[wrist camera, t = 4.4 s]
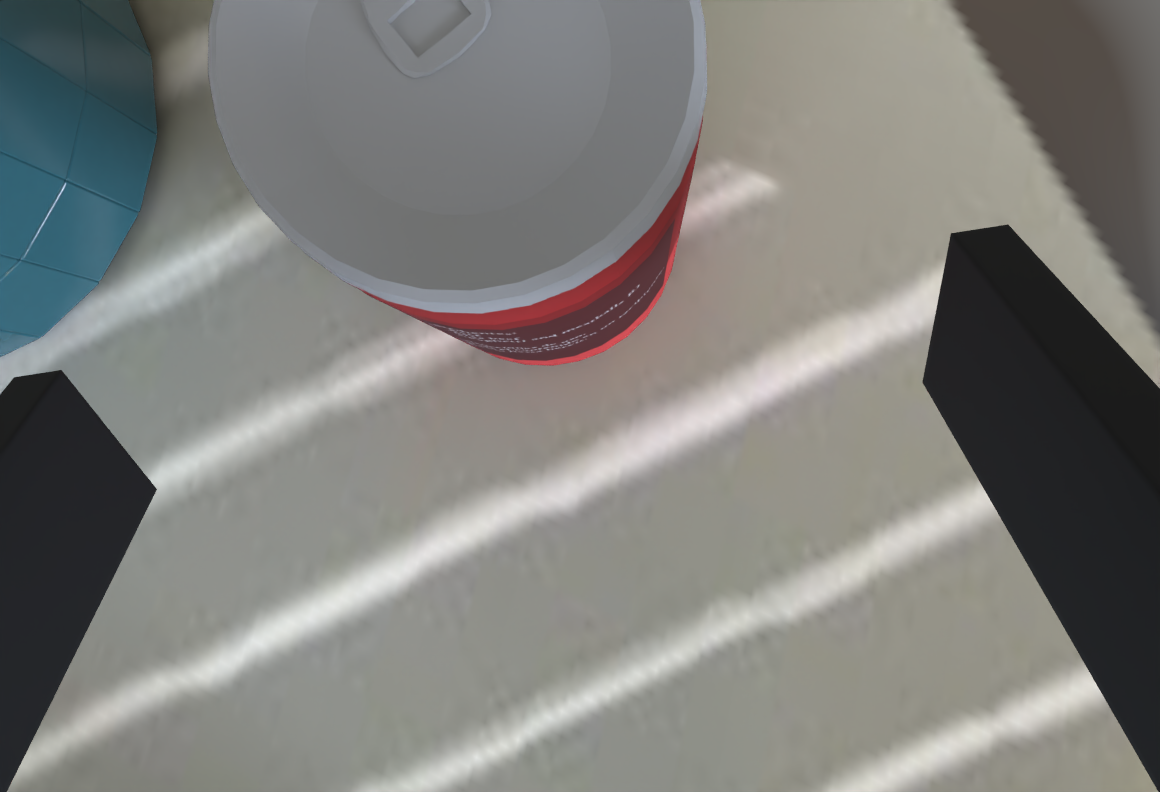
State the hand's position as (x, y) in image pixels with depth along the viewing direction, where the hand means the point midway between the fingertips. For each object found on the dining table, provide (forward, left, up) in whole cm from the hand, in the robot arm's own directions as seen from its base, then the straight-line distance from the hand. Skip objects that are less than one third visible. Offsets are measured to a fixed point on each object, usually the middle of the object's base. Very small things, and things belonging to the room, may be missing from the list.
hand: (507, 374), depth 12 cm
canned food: (-2, +5, -11) cm, 12 cm away
